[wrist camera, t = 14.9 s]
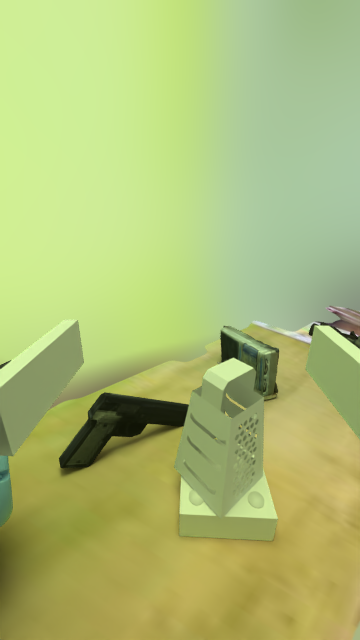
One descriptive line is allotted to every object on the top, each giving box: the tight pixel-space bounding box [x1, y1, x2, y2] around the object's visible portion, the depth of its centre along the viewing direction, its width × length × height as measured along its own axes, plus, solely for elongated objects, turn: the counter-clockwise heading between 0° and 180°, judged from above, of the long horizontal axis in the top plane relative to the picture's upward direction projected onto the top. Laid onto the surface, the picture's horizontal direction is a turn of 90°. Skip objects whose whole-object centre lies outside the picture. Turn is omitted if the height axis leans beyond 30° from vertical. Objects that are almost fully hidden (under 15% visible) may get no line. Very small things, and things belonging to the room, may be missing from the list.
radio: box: [217, 326, 279, 400], centre depth 76 cm, size 23×9×15 cm, turn 14°
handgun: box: [59, 393, 189, 468], centre depth 54 cm, size 2×24×15 cm, turn 120°
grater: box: [174, 358, 264, 519], centre depth 40 cm, size 10×10×20 cm
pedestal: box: [179, 439, 278, 541], centre depth 44 cm, size 14×14×5 cm
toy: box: [309, 322, 360, 349], centre depth 96 cm, size 30×8×30 cm
